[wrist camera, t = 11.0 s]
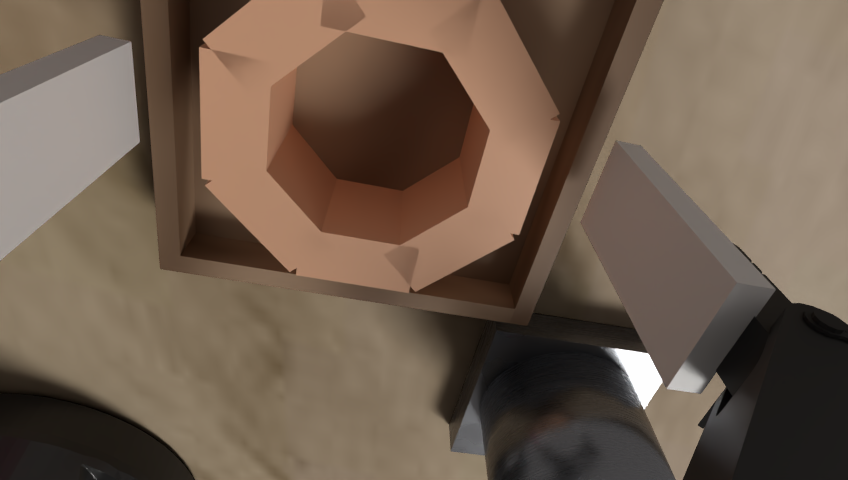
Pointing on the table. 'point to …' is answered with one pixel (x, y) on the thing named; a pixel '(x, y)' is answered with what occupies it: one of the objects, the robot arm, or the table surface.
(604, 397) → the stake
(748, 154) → the table surface
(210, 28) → the tray
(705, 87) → the table surface
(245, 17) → the ring
